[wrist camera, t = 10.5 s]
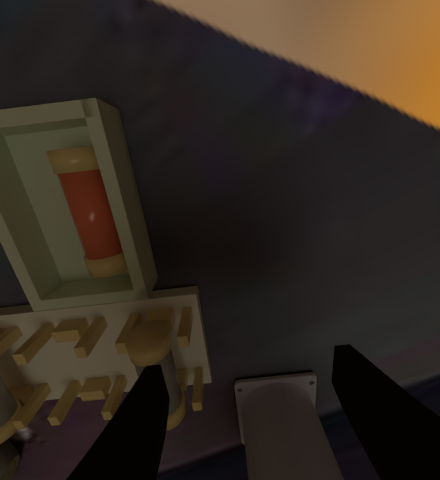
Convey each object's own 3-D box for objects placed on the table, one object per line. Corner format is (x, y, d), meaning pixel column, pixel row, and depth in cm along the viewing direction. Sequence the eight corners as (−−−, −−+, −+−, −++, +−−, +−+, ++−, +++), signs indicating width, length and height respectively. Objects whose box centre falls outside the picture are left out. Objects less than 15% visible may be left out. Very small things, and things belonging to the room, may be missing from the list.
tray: (158, 276, 18) (148, 298, 16) (61, 287, 19) (33, 311, 16) (118, 109, 14) (95, 97, 11) (-6, 124, 14) (-60, 117, 12)
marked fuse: (111, 257, 18) (142, 259, 16) (78, 276, 15) (112, 279, 14) (80, 152, 15) (114, 146, 14) (33, 153, 12) (70, 146, 11)
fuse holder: (211, 371, 22) (211, 419, 18) (10, 392, 22) (-36, 444, 18) (197, 285, 19) (192, 321, 15) (-40, 312, 19) (-108, 353, 15)
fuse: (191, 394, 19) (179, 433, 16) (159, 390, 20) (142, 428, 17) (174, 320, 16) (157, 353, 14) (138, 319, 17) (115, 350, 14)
